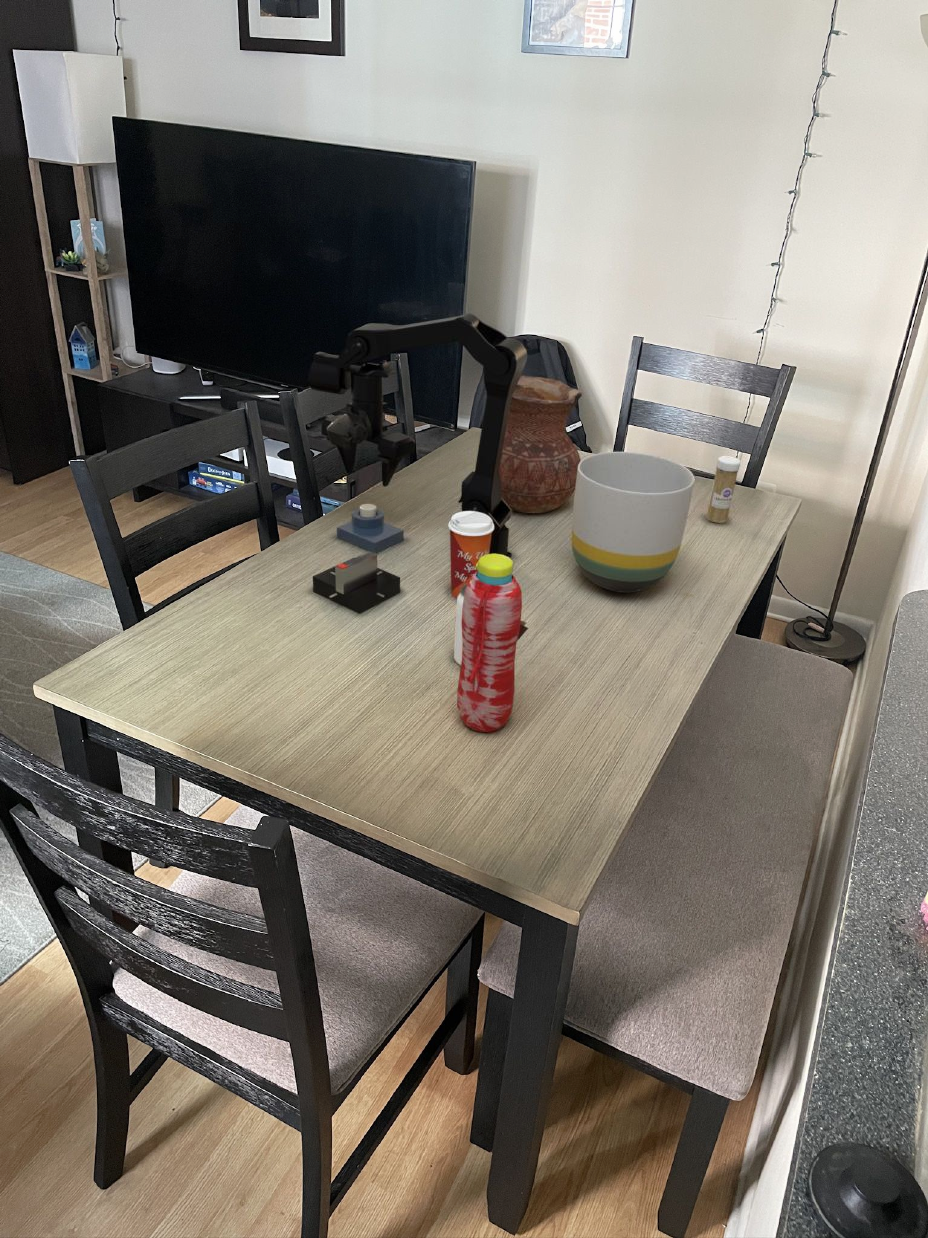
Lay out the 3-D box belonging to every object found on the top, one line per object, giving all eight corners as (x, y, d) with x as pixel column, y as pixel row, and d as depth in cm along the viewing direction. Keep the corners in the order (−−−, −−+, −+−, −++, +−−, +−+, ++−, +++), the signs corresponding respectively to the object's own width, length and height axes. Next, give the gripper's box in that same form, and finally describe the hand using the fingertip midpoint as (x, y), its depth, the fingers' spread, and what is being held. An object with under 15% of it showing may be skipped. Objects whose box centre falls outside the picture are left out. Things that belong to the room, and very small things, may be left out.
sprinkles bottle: (714, 525, 185) (727, 463, 179) (701, 516, 189) (713, 456, 182) (732, 522, 187) (745, 461, 180) (718, 514, 191) (731, 454, 184)
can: (491, 674, 133) (497, 604, 127) (449, 667, 134) (453, 598, 128) (499, 651, 139) (504, 583, 133) (458, 645, 140) (462, 577, 134)
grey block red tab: (369, 574, 152) (369, 549, 150) (377, 578, 151) (377, 553, 149) (335, 590, 147) (335, 565, 144) (343, 594, 146) (342, 568, 143)
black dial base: (411, 597, 152) (411, 581, 151) (357, 626, 143) (357, 609, 142) (354, 572, 159) (354, 556, 158) (299, 598, 150) (298, 581, 149)
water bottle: (480, 685, 130) (491, 529, 118) (530, 701, 128) (547, 543, 115) (441, 728, 121) (449, 564, 108) (494, 747, 118) (509, 581, 106)
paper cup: (457, 607, 150) (461, 531, 143) (437, 587, 156) (440, 513, 149) (498, 598, 153) (503, 524, 146) (476, 579, 159) (481, 506, 152)
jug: (594, 499, 194) (609, 385, 182) (549, 531, 179) (562, 409, 166) (506, 475, 204) (514, 366, 191) (456, 503, 188) (462, 386, 176)
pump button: (379, 515, 173) (379, 506, 172) (368, 520, 170) (368, 511, 169) (367, 510, 174) (367, 502, 173) (356, 515, 172) (356, 506, 171)
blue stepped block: (407, 538, 172) (407, 519, 170) (374, 553, 166) (374, 534, 164) (367, 522, 178) (367, 504, 176) (334, 536, 172) (334, 517, 170)
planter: (545, 567, 165) (557, 457, 154) (634, 553, 172) (652, 447, 161) (599, 617, 149) (617, 499, 139) (695, 600, 157) (718, 486, 146)
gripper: (297, 395, 159) (301, 477, 167) (374, 419, 150) (374, 505, 158) (342, 383, 167) (343, 462, 175) (417, 405, 158) (415, 488, 166)
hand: (367, 479), depth 168 cm, fingers open, 9 cm apart
